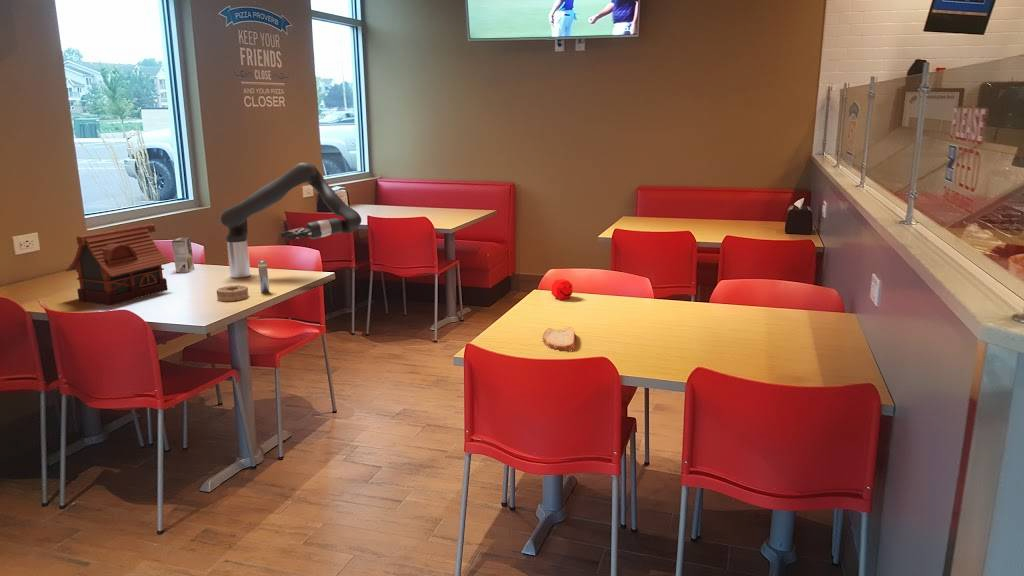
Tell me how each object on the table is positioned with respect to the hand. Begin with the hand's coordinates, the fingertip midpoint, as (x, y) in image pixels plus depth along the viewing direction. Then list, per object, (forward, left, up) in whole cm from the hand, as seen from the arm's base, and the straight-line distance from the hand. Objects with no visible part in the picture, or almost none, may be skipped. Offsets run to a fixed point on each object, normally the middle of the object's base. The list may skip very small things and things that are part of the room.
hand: (284, 236), depth 321 cm
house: (-37, -59, -24) cm, 74 cm away
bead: (0, -25, -24) cm, 34 cm away
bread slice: (+136, +41, -24) cm, 144 cm away
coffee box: (-71, -25, -24) cm, 79 cm away
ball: (+94, +80, -24) cm, 126 cm away
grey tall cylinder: (0, -11, -24) cm, 26 cm away
